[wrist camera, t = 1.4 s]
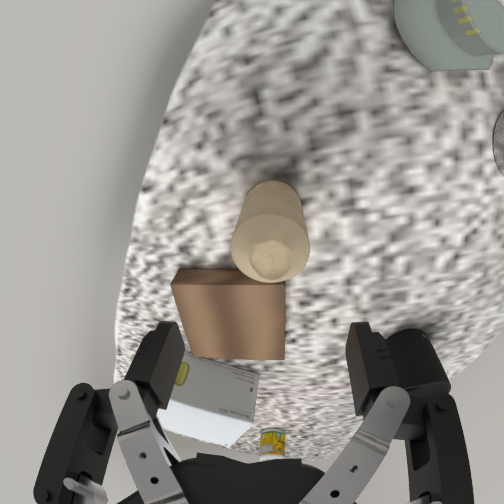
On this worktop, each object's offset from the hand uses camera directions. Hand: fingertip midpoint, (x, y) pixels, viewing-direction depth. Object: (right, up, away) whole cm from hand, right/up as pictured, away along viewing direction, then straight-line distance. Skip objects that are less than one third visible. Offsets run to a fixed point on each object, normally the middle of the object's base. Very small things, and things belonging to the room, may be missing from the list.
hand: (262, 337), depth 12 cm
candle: (+2, +8, +15) cm, 17 cm away
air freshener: (+17, +25, +3) cm, 31 cm away
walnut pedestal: (-2, -3, +21) cm, 22 cm away
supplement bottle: (+4, -36, +40) cm, 54 cm away
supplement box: (-9, -17, +30) cm, 36 cm away
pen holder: (+22, -10, +23) cm, 34 cm away
